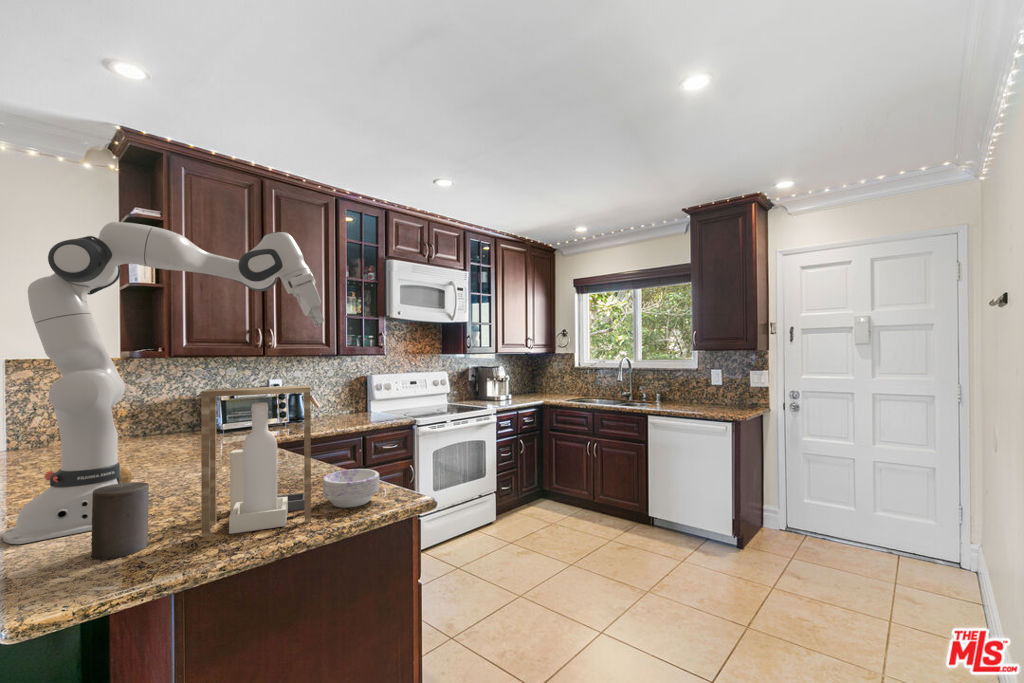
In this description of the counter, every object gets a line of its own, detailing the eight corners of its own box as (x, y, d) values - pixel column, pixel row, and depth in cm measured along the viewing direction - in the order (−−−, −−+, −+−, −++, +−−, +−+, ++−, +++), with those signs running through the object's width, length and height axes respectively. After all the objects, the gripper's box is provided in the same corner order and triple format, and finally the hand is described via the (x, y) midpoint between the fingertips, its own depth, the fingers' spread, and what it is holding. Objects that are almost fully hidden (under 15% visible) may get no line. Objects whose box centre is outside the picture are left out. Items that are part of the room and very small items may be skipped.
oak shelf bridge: (209, 523, 121) (209, 389, 122) (310, 510, 130) (310, 385, 131) (201, 537, 112) (201, 391, 113) (311, 521, 121) (310, 387, 122)
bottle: (271, 527, 118) (271, 404, 118) (237, 529, 116) (236, 405, 117) (281, 516, 125) (281, 401, 126) (249, 518, 124) (249, 402, 125)
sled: (232, 508, 132) (232, 450, 132) (288, 501, 137) (288, 445, 138) (219, 535, 112) (219, 466, 113) (285, 525, 118) (285, 460, 118)
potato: (104, 498, 145) (104, 471, 145) (81, 492, 151) (82, 467, 152) (141, 489, 154) (141, 464, 154) (118, 485, 160) (118, 460, 160)
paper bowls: (357, 514, 127) (357, 483, 127) (310, 508, 131) (310, 479, 132) (390, 497, 141) (389, 470, 141) (346, 493, 146) (346, 467, 146)
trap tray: (253, 507, 133) (253, 498, 134) (306, 500, 139) (306, 492, 139) (249, 516, 126) (249, 506, 126) (305, 508, 131) (305, 499, 131)
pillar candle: (82, 563, 98) (84, 489, 99) (101, 546, 107) (102, 478, 108) (140, 555, 102) (142, 484, 103) (153, 539, 111) (155, 473, 112)
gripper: (288, 292, 155) (307, 331, 156) (290, 280, 137) (312, 324, 138) (307, 285, 158) (326, 324, 159) (312, 272, 139) (333, 316, 141)
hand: (320, 324), depth 149 cm, fingers open, 8 cm apart
